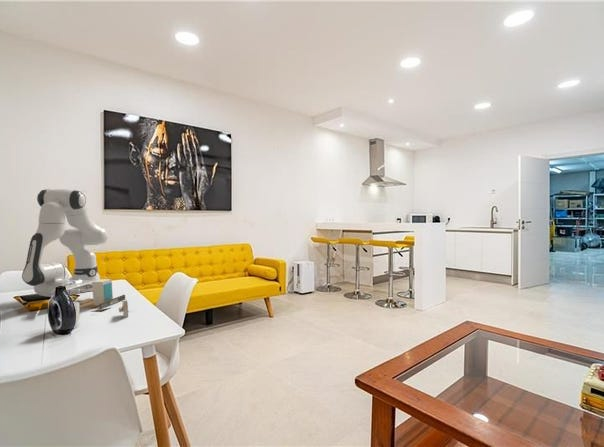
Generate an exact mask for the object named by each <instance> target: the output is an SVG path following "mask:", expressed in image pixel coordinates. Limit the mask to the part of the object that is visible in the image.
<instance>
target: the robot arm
mask: <svg viewBox="0 0 604 447" xmlns="http://www.w3.org/2000/svg"><path fill="white" fill-rule="evenodd" d="M36 201H37V204H38V205H39V207H40V210H39V214H38V226H37V230H36V232H35V233H34V234H33V235H32V237H31V238H30V242H29V246H28V251H27V256H26V261H25V265H24V268H23V270H22V274H21V278H22V281H23V282H24V283H25V284H27V285H28V286H31V287H33V290H34V292H35V294H37V295H38V296H42V297H47V298H48V297H49V298H50V297H51V296H52V295H54V292H55V288H56V287H57V286H65V287H66V290H67V292H68V294H69V295H70V296H69V297H71V296H72V295H75V294H81V293H87V292H91V291H92V292H93V287H92V282H94V281H97V280H101V278H100V274H99V273H98V270H99V268H98V266H97V256H96V254H95V252H93V251H91V250H89V249H87V248H86V246H97V245H101V244H102V245H103V244H105V243H106V242H107V241H108V239H109V234H108V231H107V230H106V229H105V228H103V227H101V226H99V225H97V224H96V223H95V222H94V221H93V220H92V219H91V217H90V214H89V212H88V208H87V205H86V201H87V199H86V196H85V194H84V193H83V192H82V191H80V190H77V189H74V190H71V189H65V188H64V189H63V188H62V189H59V188H57V189H50V188H47V189H42V190H40V191H39V193H38V194H37V197H36ZM66 221H67V223H68V225H69V226H70V227H73V228H68V229H66ZM58 239H59V242H60V243H61V244H62V245H63V246H64V247H66V248H67V249H69V250H70V253H71V254H72V255H73V258H74V267H75V268H73V269H72V271H73V275H72V276H71V277H70V278H69V279H65V277H66V267H65V266H64V265H63V264H62V262H61V263H60V262H58V261H53V262H47V263H42V259H43V252H44V249H45V248H46V246H48V245H49V244H50V243H52V242H54V241H56V240H58ZM51 298H52V297H51Z"/></svg>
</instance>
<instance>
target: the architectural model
mask: <svg viewBox="0 0 604 447" xmlns="http://www.w3.org/2000/svg"><path fill="white" fill-rule="evenodd" d="M121 302H122V306H121V307H118V311H119V313H123V319H126V318H129V307H128V306H129V304H128V300H127V299H126V298H125V300H123V301H121Z"/></svg>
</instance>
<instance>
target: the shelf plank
mask: <svg viewBox="0 0 604 447" xmlns="http://www.w3.org/2000/svg"><path fill="white" fill-rule="evenodd" d="M122 301H126V294H122V295H119V296H117V297H114V298H113V299H111V300H108V301H106V302H103V303H101V304H99V305H94V304H93V297H92V298H91V297H89V298H86V299H83V300H80V301H78V302H79V309H84V310H85V309H88V310H91V309H92V310H91V311H89V312H91V313H92V312H93V313H102V312H105V311H107V310H111V307H110V306H113V305H115V304H118V303H120V302H122Z"/></svg>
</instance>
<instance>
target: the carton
mask: <svg viewBox="0 0 604 447" xmlns="http://www.w3.org/2000/svg"><path fill="white" fill-rule="evenodd" d="M92 287H93V291H92V299H93V304H94V305H99V304H101V303H103V302H106V301H108V300H111V299H114V298H113V297H114V296H113V279H111V278H110V279H109V278H104V279H103V278H100V280H97V281H94V282H92Z"/></svg>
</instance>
